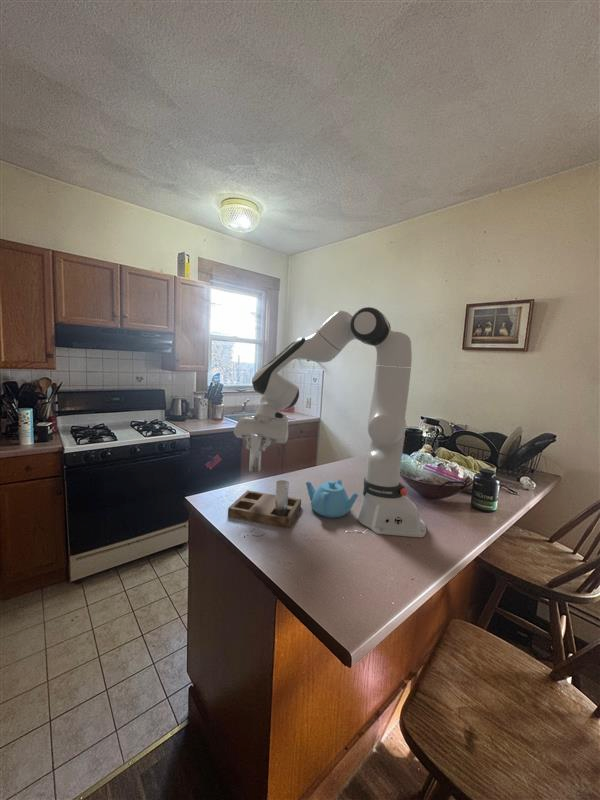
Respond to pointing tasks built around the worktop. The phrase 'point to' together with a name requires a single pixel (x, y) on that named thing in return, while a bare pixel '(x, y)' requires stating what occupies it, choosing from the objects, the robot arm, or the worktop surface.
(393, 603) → the worktop surface
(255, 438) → the pin
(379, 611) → the worktop surface
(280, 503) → the pin
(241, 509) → the socket board
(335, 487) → the teapot
